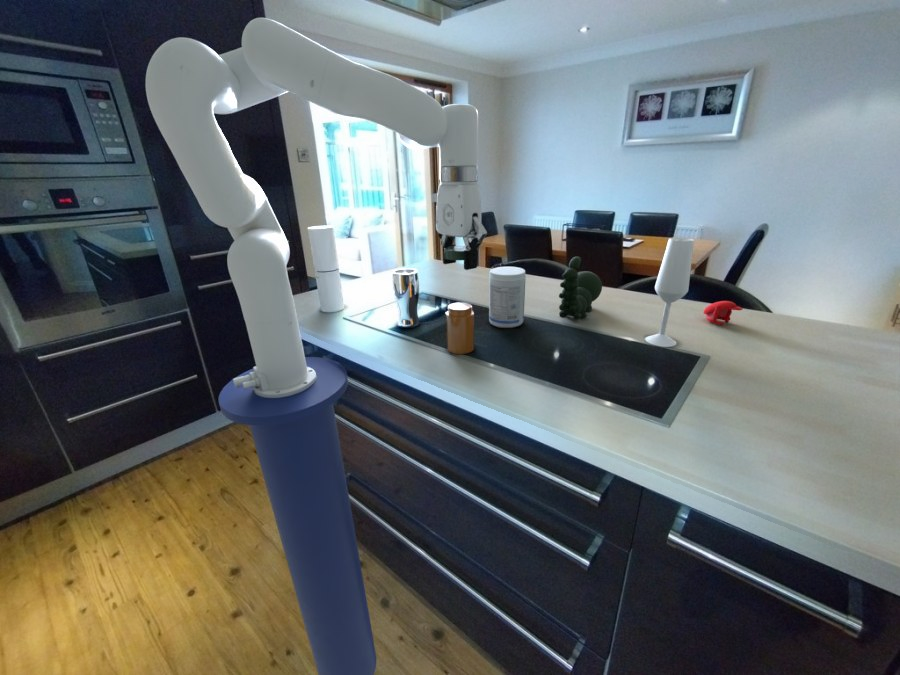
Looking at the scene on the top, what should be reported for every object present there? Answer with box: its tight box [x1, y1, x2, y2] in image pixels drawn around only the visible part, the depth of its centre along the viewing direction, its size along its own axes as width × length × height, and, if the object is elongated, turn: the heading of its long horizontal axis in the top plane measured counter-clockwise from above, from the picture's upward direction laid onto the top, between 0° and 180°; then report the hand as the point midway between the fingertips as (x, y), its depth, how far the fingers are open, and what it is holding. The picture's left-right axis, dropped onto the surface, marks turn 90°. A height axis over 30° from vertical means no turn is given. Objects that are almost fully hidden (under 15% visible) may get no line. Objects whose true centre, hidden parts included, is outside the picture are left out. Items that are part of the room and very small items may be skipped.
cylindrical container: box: [307, 225, 345, 313], centre depth 118 cm, size 7×7×25 cm
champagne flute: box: [644, 237, 695, 348], centre depth 88 cm, size 7×7×24 cm
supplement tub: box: [488, 266, 527, 329], centre depth 104 cm, size 10×10×15 cm
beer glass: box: [392, 267, 421, 329], centre depth 105 cm, size 7×7×15 cm
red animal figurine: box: [702, 300, 743, 326], centre depth 102 cm, size 8×6×6 cm
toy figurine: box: [558, 256, 603, 321], centre depth 109 cm, size 9×19×25 cm
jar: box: [445, 301, 475, 355], centre depth 90 cm, size 6×6×11 cm
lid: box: [444, 245, 466, 261], centre depth 83 cm, size 7×7×2 cm
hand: (459, 265), depth 84 cm, fingers closed on lid, 6 cm apart
